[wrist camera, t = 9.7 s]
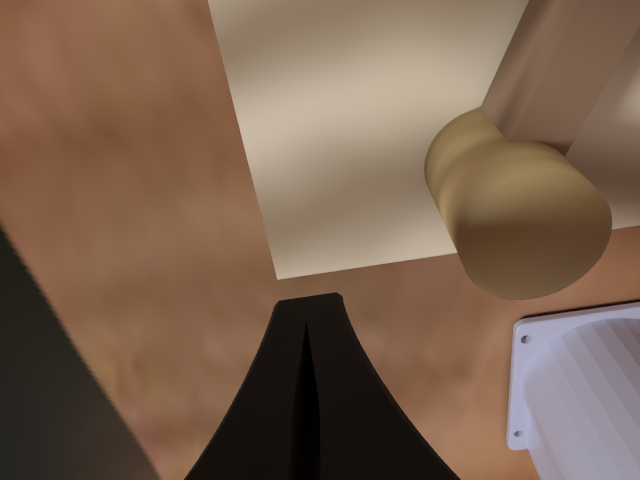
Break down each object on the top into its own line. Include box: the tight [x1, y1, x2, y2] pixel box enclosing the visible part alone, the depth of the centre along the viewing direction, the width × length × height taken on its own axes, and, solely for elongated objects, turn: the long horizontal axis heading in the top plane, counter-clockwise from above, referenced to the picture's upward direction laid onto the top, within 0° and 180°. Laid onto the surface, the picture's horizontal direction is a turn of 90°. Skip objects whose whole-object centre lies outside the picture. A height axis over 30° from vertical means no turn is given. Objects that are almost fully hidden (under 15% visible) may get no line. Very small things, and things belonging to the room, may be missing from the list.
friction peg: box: [424, 0, 640, 300], centre depth 14 cm, size 15×4×5 cm, turn 164°
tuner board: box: [208, 0, 640, 280], centre depth 17 cm, size 18×16×1 cm
